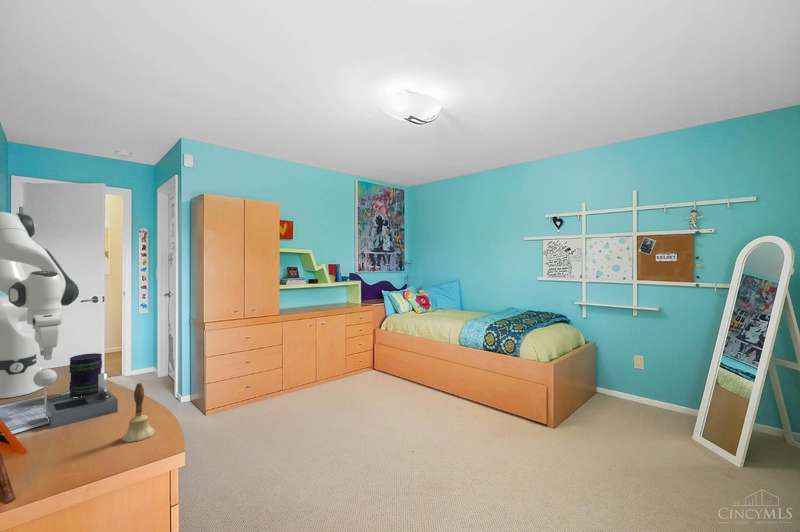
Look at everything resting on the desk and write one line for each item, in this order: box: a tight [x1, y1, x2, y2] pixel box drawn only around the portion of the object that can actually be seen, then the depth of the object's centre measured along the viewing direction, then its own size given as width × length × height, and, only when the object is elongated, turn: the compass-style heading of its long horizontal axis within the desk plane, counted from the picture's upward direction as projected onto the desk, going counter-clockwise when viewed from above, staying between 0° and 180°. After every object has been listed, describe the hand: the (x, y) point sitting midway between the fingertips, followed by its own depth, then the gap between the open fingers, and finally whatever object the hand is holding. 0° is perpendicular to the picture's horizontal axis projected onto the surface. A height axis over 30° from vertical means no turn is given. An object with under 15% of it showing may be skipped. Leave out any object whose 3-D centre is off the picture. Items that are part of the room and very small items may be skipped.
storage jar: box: [68, 352, 103, 398], centre depth 145 cm, size 10×10×15 cm
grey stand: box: [45, 372, 119, 429], centre depth 126 cm, size 17×12×13 cm
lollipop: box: [33, 368, 58, 411], centre depth 127 cm, size 6×6×15 cm
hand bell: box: [121, 382, 156, 443], centre depth 112 cm, size 8×8×16 cm
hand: (45, 357), depth 127 cm, fingers open, 8 cm apart
